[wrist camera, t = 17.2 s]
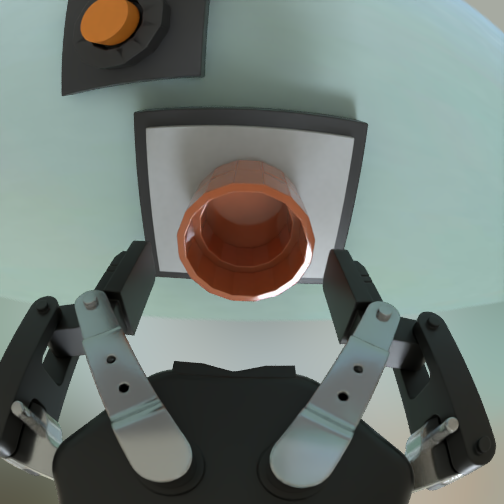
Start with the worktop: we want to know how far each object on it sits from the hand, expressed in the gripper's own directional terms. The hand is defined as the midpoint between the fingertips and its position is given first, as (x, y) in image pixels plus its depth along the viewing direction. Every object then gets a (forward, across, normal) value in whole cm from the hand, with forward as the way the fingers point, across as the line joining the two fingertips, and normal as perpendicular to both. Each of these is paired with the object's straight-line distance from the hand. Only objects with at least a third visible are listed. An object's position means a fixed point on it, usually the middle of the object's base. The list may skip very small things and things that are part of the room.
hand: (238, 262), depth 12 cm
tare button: (+5, +8, -12) cm, 15 cm away
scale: (+8, 0, 0) cm, 8 cm away
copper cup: (+5, 0, 0) cm, 5 cm away
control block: (+8, +8, -12) cm, 16 cm away
